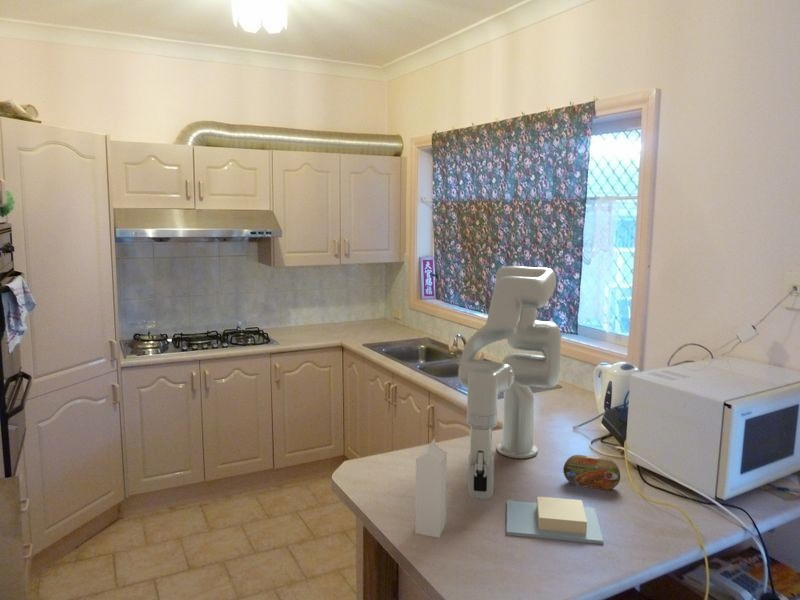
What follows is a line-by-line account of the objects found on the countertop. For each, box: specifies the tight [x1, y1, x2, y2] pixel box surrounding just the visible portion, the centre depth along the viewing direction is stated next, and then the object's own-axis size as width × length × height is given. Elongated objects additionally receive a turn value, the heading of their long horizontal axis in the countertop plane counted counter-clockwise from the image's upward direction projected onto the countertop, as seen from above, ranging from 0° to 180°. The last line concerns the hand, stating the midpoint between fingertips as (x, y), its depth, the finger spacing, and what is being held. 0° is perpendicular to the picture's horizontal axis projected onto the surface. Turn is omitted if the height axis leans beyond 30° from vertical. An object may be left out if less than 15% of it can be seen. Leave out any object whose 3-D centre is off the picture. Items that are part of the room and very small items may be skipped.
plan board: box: [506, 496, 604, 545], centre depth 152 cm, size 16×22×4 cm
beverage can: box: [467, 450, 495, 501], centre depth 159 cm, size 6×6×12 cm
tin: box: [562, 454, 621, 491], centre depth 172 cm, size 15×3×8 cm, turn 70°
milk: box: [414, 437, 448, 539], centre depth 147 cm, size 6×6×22 cm
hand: (480, 483), depth 159 cm, fingers closed on beverage can, 6 cm apart
